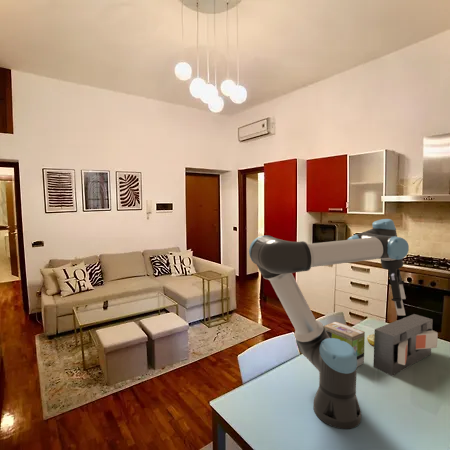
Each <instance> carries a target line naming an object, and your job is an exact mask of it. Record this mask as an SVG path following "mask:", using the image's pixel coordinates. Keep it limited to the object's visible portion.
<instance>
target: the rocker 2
mask: <svg viewBox="0 0 450 450" xmlns="http://www.w3.org/2000/svg"><path fill="white" fill-rule="evenodd" d="M438 335H439V333H438V332H437V331H435V330H433V329H432V330H431V331H424V332H422V333H420V334H417V335H416V350H417V349H427V348H431V349H434V348H438V337H439V336H438Z"/></svg>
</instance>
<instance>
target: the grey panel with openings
mask: <svg viewBox="0 0 450 450" xmlns="http://www.w3.org/2000/svg"><path fill="white" fill-rule="evenodd" d="M433 320H434V319H433V318H429V317H426V316H423V315H419V314H415V313H413V314H411V315H408V316H406V317H403V318H401V319H398V320H397V319H396V320H395V321H393V322H390V323H387V324H385V325H381V326H379V327H377V328H375V329H374V333H373V334H374V346H373V363H372V365H373V366H372V367H373V368H375V369H376V370H378V371H381V372H383V374H387V375H388V376H391V377H393V376H396V375H397V374H398V373H400V372H402V371H404V370H405V369H407V368H410V367H411V366H412V365H414V364H416V363H418V362H419V361H421V360H423V359H425V358H427V357H428V356H430V355H431V354H432V348H427V349H417V350H416V335H417V334H420V333H422V332H424V331H431V330H433ZM407 339H408V350H407V360H406V364H405V365H402V364H398V346H399V343H400V342H402V341H405V340H407Z"/></svg>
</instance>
